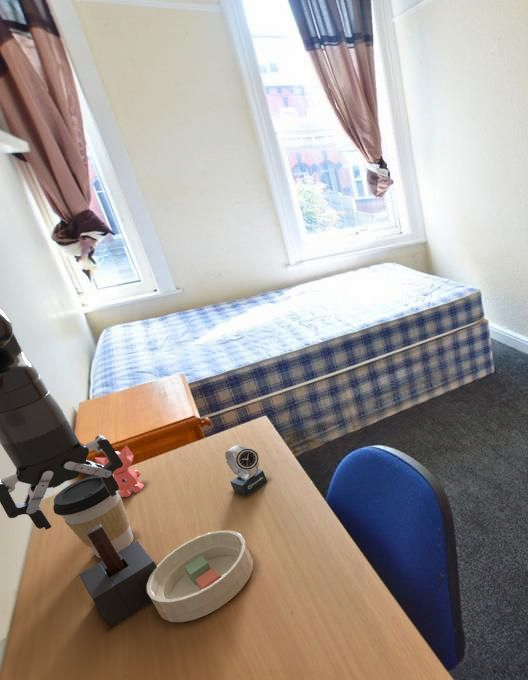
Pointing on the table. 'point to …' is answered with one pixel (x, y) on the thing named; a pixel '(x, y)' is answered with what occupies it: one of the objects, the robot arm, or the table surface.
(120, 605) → the stand
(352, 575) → the table surface
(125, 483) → the cat figurine
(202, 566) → the sage block
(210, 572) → the terracotta block
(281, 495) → the table surface
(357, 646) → the table surface
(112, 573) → the chopsticks
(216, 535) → the bowl
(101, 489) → the coffee cup
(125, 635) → the table surface
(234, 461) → the watch
